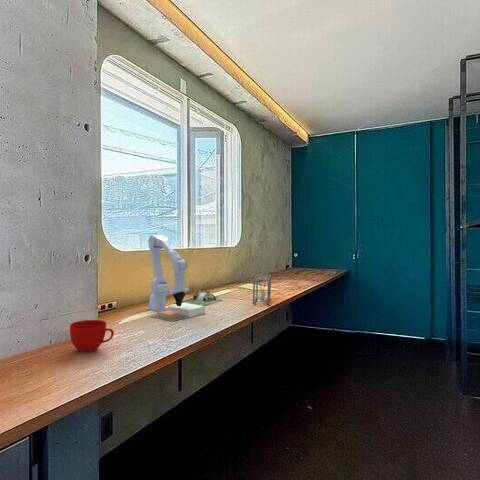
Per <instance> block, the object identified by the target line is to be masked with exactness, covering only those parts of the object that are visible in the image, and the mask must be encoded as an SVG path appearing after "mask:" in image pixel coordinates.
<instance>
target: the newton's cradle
mask: <svg viewBox="0 0 480 480" xmlns="http://www.w3.org/2000/svg"><path fill="white" fill-rule="evenodd" d="M262 280H263V281H264V284H263V287H262ZM252 281H253V284H252V285H253V287H252V305H253V304H256V303H257V302H256V301H257V300H258V299H259V300H258V301H264V300H265V299H267V301H266V306H267V305H269V306H270V302H269V300H270V301H271V295H272V294H271V291H272V289H271V288H272V275H271V274H266V275H263V277H262V278H261V273H260V274H259V273H257V274H256V275H255V276H254V278H253V280H252ZM266 282H267V296H266V292H265V291H264V290H265V287H266ZM258 290H260V293H259V296H258ZM256 299H257V300H256Z"/></svg>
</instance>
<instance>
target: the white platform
mask: <svg viewBox="0 0 480 480" xmlns="http://www.w3.org/2000/svg"><path fill="white" fill-rule="evenodd" d="M166 308H167V310H170V311H175V312H180V315H181V316H186V317H188V318H193V317H195V316H199V315H203V314H206V306H201V305H195V304H189V303H182V304H181V306H177V305H176V304H172V305H166Z"/></svg>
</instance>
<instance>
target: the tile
mask: <svg viewBox="0 0 480 480" xmlns="http://www.w3.org/2000/svg"><path fill="white" fill-rule="evenodd" d="M157 312H158V314H157V315H158V317H162V318H166V319H174V318H178V317H180V312H175V311H170V310H163V311H157Z"/></svg>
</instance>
